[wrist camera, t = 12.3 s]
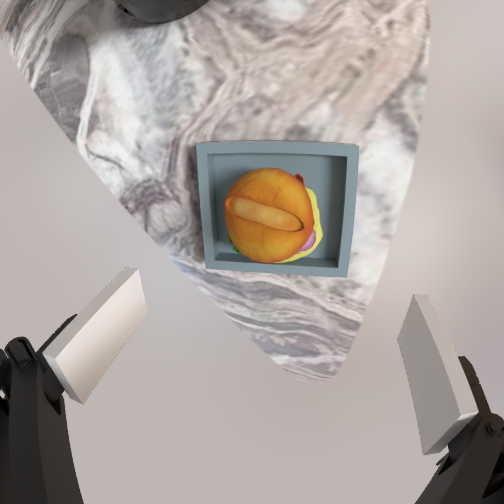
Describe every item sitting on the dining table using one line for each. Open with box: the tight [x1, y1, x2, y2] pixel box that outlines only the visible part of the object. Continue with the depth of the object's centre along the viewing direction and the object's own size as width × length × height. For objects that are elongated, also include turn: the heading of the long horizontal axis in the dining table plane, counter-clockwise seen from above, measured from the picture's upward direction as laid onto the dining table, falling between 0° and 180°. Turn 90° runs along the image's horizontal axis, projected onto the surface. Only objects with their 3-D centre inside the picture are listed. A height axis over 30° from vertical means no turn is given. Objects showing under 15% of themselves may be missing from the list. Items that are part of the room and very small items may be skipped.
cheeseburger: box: [224, 167, 323, 263], centre depth 30 cm, size 10×11×10 cm
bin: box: [196, 140, 359, 278], centre depth 33 cm, size 15×17×3 cm
